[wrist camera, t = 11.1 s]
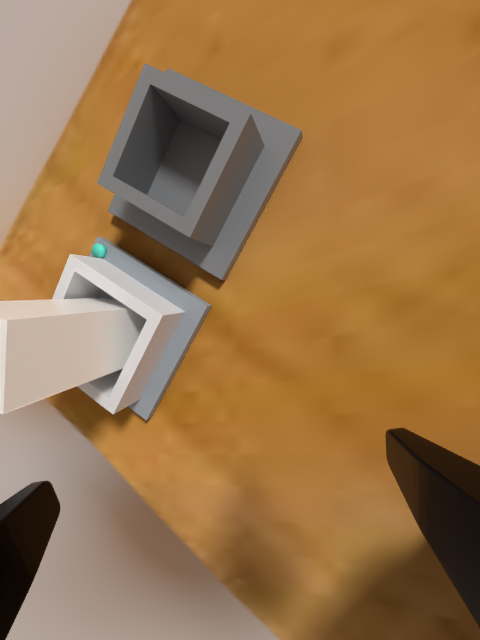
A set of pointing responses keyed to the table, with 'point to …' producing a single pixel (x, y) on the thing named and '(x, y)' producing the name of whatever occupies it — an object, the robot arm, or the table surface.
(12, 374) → the plug
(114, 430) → the table surface
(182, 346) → the port panel
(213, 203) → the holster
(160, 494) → the table surface
